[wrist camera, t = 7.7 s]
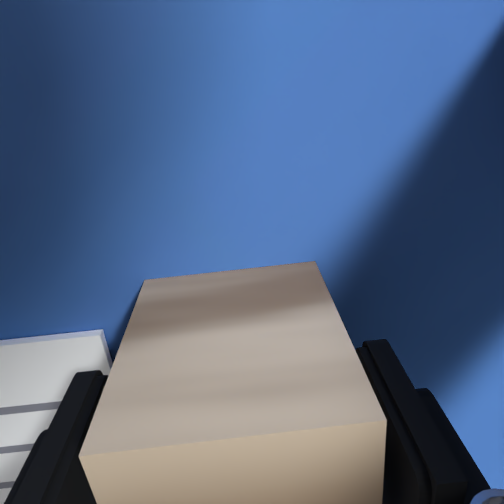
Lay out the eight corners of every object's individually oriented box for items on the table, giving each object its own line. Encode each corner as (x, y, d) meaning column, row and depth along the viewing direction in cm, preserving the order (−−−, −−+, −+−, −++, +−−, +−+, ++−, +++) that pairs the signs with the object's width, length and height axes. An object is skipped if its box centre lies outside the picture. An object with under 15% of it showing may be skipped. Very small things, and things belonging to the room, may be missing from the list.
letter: (-227, 364, 12) (-238, 371, 12) (102, 329, 13) (99, 335, 12) (-46, 613, 18) (-50, 621, 18) (178, 587, 18) (177, 596, 18)
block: (144, 279, 12) (78, 456, 7) (314, 259, 12) (386, 420, 7) (174, 406, 14) (142, 620, 9) (319, 389, 14) (377, 592, 9)
